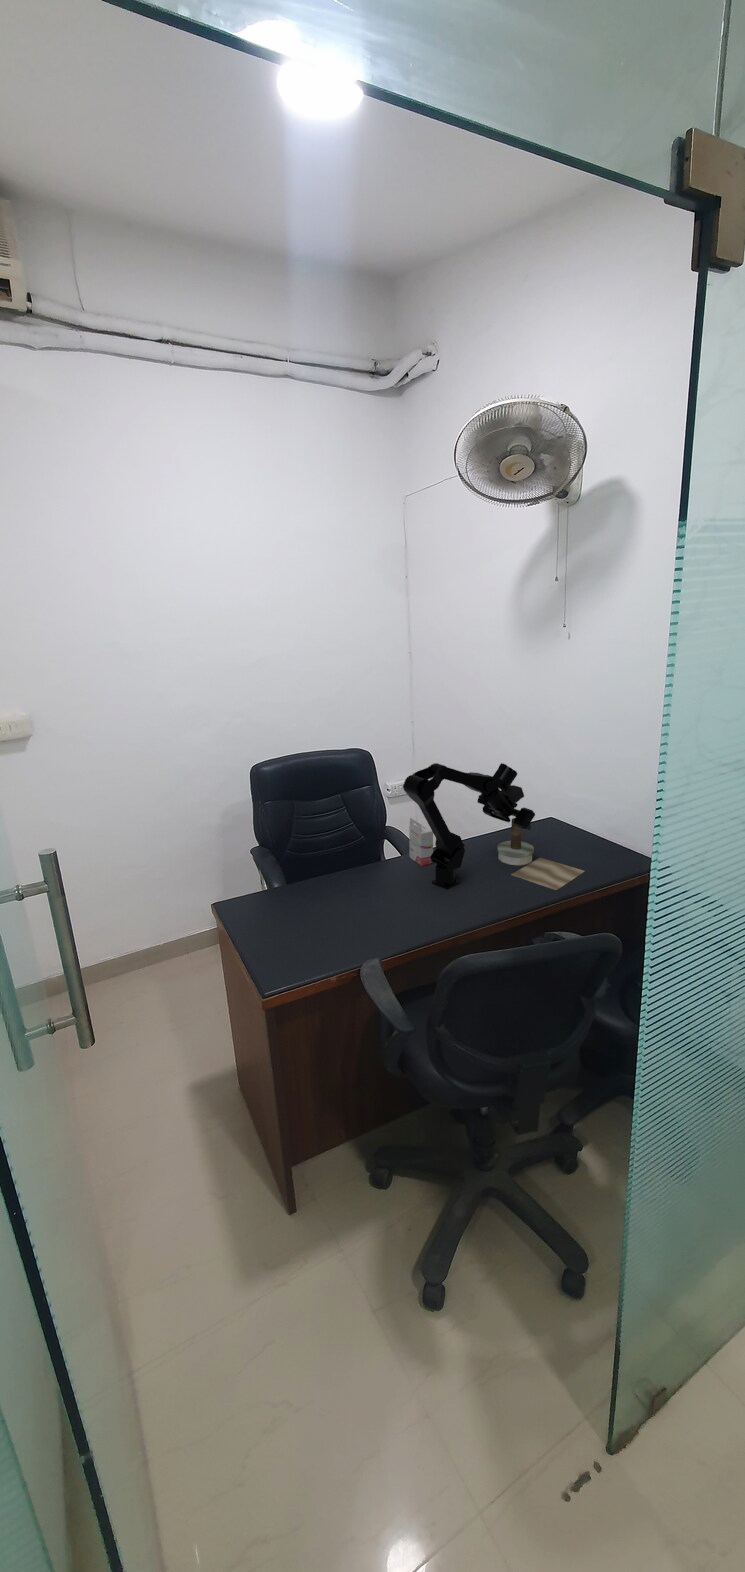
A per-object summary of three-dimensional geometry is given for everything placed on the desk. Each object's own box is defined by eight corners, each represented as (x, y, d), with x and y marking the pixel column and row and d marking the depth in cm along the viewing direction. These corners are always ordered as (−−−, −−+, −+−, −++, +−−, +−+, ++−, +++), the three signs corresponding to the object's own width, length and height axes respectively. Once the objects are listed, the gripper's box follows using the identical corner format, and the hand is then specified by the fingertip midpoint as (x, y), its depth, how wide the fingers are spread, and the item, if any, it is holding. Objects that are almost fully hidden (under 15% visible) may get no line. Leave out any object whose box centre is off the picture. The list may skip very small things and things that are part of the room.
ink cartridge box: (433, 863, 203) (434, 822, 199) (421, 866, 201) (420, 825, 197) (421, 854, 211) (421, 814, 206) (408, 857, 209) (408, 817, 204)
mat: (556, 891, 182) (556, 890, 182) (510, 875, 193) (510, 874, 193) (584, 871, 194) (584, 871, 194) (540, 858, 205) (540, 857, 205)
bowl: (520, 868, 197) (520, 859, 197) (492, 859, 205) (492, 850, 204) (538, 858, 205) (538, 849, 204) (510, 849, 212) (510, 841, 211)
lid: (532, 859, 197) (534, 827, 193) (495, 855, 200) (496, 824, 197) (535, 845, 207) (537, 815, 204) (499, 841, 211) (501, 812, 208)
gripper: (532, 786, 187) (554, 812, 196) (489, 773, 202) (511, 798, 211) (513, 815, 185) (536, 841, 194) (471, 800, 200) (494, 824, 209)
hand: (519, 825), depth 202 cm, fingers open, 9 cm apart
